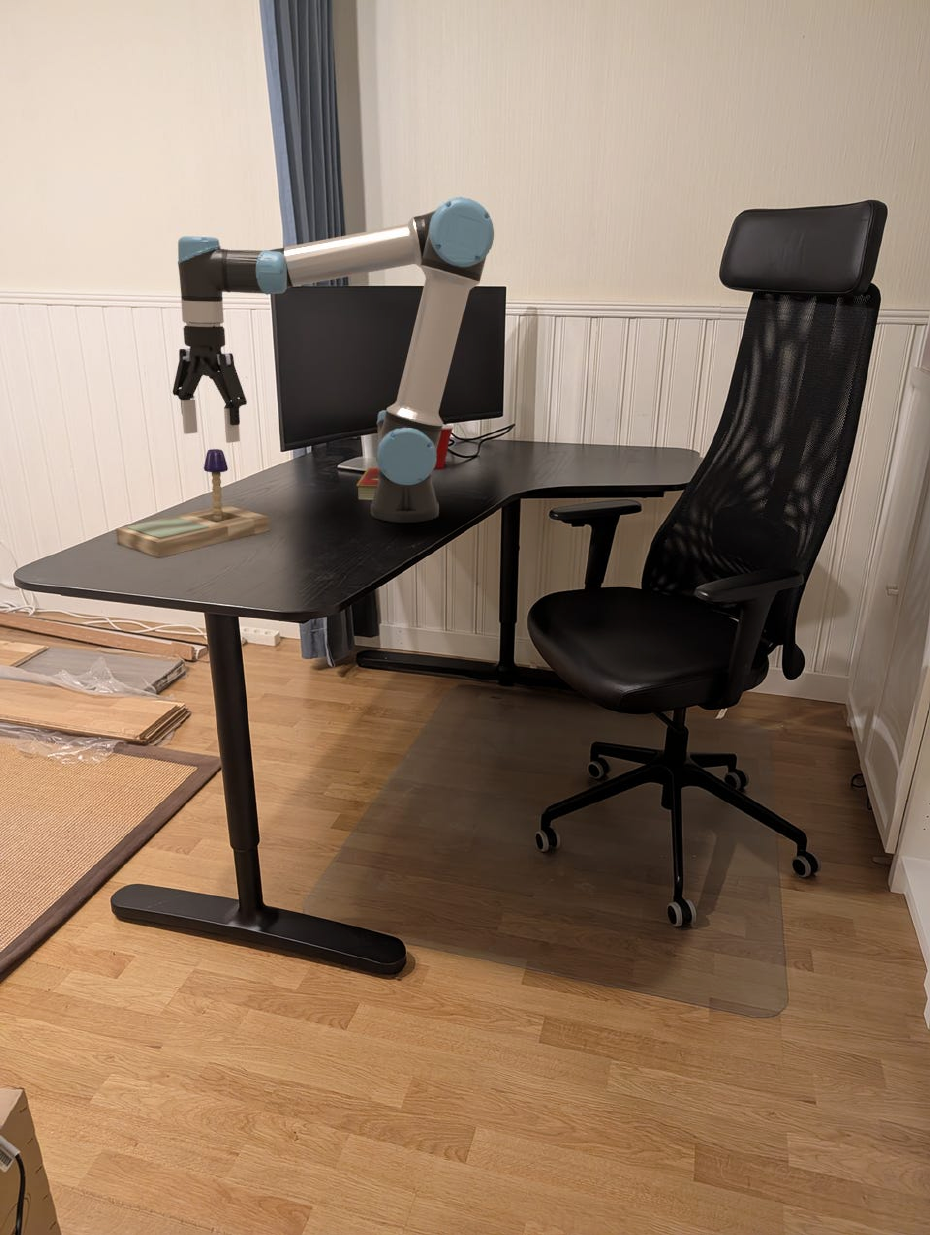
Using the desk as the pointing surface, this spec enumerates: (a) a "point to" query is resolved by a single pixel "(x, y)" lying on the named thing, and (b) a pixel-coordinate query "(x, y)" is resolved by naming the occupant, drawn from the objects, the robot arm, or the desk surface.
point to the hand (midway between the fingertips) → (211, 437)
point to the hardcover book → (368, 484)
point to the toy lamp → (216, 478)
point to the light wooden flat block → (191, 531)
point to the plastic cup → (443, 446)
